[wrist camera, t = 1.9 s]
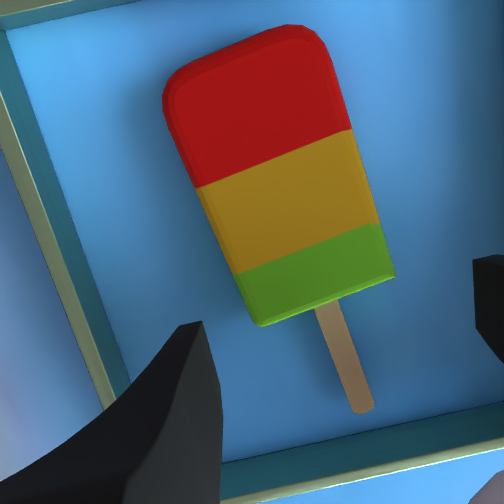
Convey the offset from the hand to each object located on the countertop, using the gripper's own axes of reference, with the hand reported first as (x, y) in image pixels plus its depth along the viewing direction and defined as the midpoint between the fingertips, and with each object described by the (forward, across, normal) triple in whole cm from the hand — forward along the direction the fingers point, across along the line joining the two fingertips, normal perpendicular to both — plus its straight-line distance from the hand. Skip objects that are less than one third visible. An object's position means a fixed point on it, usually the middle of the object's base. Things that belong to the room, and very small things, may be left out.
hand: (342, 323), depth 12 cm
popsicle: (+6, 0, 0) cm, 6 cm away
